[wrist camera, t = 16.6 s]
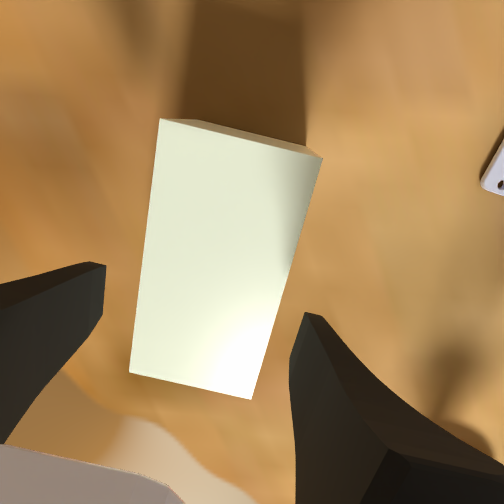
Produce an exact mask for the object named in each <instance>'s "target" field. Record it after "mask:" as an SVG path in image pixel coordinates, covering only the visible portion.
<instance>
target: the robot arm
mask: <svg viewBox="0 0 504 504" xmlns="http://www.w3.org/2000/svg"><path fill="white" fill-rule="evenodd" d="M502 180H503V185H502V187H501V188H498V187H497V186H498V183H499V182H500V181H502ZM481 187H482V188H483V189H485V190H487V191H490V192H493V193H496V194H499V195H502V196H504V139H503V141H502V143H501V145H500V146H499V148H498V150H497V152H496V154H495V155H494V157H493V159H492V161H491V162H490V164H489V166H488V168H487V170H486V171H485V173H484V175H483V177H482V179H481ZM105 278H106V265H103V264H98V263H94V262H90V261H89V262H83V263H79V264H75V265H71V266H67V267H64V268H60V269H57V270H53V271H50V272H46V273H43V274H39V275H35V276H32V277H27V278H23V279H19V280H15V281H11V282H7V283H3V284H0V504H185V503H184V502H183V500H181V498H179V496H178V495H177V494H176V493H175V492H174V491H173V490H172V489H171V488H170V487H169V486H168V485H167V484H164V483H162V482H159V481H157V480H154V479H152V478H150V477H147V476H145V475H142V474H139V473H134V472H130V471H125V470H121V469H116V468H112V467H107V466H102V465H97V464H93V463H89V462H84V461H80V460H75V459H70V458H66V457H61V456H56V455H52V454H48V453H43V452H38V451H34V450H29V449H25V448H20V447H15V446H11V445H6V444H4V443H5V441H6V440H7V438H8V437H9V435H10V434H11V432H12V431H13V429H14V428H15V427H16V425H17V424H18V422H19V421H20V419H21V418H22V416H23V415H24V414H25V412H26V411H27V410H28V408H29V407H30V405H31V404H32V403H33V401H34V400H35V398H36V397H37V396H38V395H39V393H40V392H41V391H42V389H43V388H44V387H45V386H46V385H47V384H48V383H49V381H50V380H51V379H52V378H53V377H54V376H55V375H56V373H57V372H58V371H59V370H60V369H61V368H62V367H63V365H64V364H65V363H66V362H67V361H68V360H69V359H70V357H71V356H72V355H73V354H74V353H75V352H76V351H77V349H78V348H79V347H80V346H81V345H82V344H83V342H84V341H85V340H86V339H87V338H88V336H89V335H90V333H91V332H92V330H93V329H94V327H95V326H96V324H97V323H98V321H99V319H100V318H101V316H102V315H103V303H104V290H105ZM289 391H290V401H291V411H292V420H293V430H294V439H295V454H296V501H295V504H504V466H503V464H501V463H500V462H498V461H496V460H494V459H493V458H491V457H489V456H487V455H486V454H484V453H482V452H480V451H479V450H477V449H475V448H473V447H472V446H470V445H468V444H466V443H465V442H463V441H461V440H460V439H458V438H456V437H455V436H453V435H452V434H450V433H449V432H447V431H445V430H444V429H442V428H441V427H439V426H438V425H436V424H435V423H433V422H432V421H430V420H429V419H428V418H426V417H425V416H423V415H422V414H420V413H419V412H418V411H417V410H415V409H414V408H413V407H411V406H410V405H409V404H407V403H406V402H405V401H403V400H402V399H401V398H400V397H398V396H397V395H396V394H395V393H394V392H392V391H391V390H390V389H389V388H388V387H387V386H386V385H385V384H383V383H382V382H381V381H380V380H379V379H378V378H377V377H376V376H375V375H374V374H373V373H372V372H371V371H370V370H369V369H368V368H367V367H366V366H365V365H364V364H363V363H362V362H361V361H360V360H359V359H358V358H357V357H356V356H355V355H354V353H353V352H352V351H351V350H350V349H349V348H348V347H347V345H346V344H345V343H344V342H343V341H342V339H341V338H340V337H339V336H338V335H337V333H336V332H335V331H334V330H333V328H332V327H331V326H330V325H329V324H328V322H327V321H326V320H325V319H324V318H323V317H322V316H320V315H316V314H312V313H308V312H305V313H304V316H303V319H302V322H301V325H300V328H299V331H298V334H297V337H296V340H295V343H294V346H293V349H292V352H291V355H290V361H289Z"/></svg>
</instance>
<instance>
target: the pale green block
mask: <svg viewBox="0 0 504 504" xmlns="http://www.w3.org/2000/svg"><path fill="white" fill-rule="evenodd" d="M322 160H323V158H321V157H320V156H319V155H317V154H316V153H315V152H313V151H312V150H310V149H309V148H308V147H306V146H303V145H299V144H295V143H291V142H287V141H283V140H279V139H275V138H271V137H266V136H262V135H258V134H254V133H250V132H246V131H242V130H238V129H234V128H230V127H226V126H222V125H218V124H214V123H210V122H206V121H202V120H196V119H163V118H160V122H159V130H158V138H157V147H156V155H155V163H154V171H153V179H152V188H151V196H150V204H149V212H148V220H147V228H146V237H145V245H144V253H143V261H142V269H141V278H140V286H139V294H138V302H137V310H136V319H135V327H134V335H133V343H132V351H131V360H130V368H129V372H131V373H135V374H140V375H144V376H149V377H153V378H158V379H162V380H167V381H171V382H175V383H180V384H184V385H189V386H193V387H198V388H202V389H207V390H211V391H216V392H220V393H225V394H229V395H234V396H238V397H242V398H247V399H251V397H252V394H253V391H254V387H255V384H256V381H257V377H258V374H259V371H260V367H261V364H262V361H263V357H264V354H265V351H266V347H267V344H268V341H269V337H270V334H271V331H272V327H273V324H274V320H275V317H276V314H277V310H278V307H279V304H280V300H281V297H282V294H283V290H284V287H285V284H286V280H287V277H288V274H289V270H290V267H291V264H292V260H293V257H294V253H295V250H296V247H297V243H298V240H299V237H300V233H301V230H302V227H303V223H304V220H305V217H306V213H307V210H308V207H309V203H310V200H311V197H312V193H313V190H314V186H315V183H316V180H317V176H318V173H319V170H320V166H321V163H322Z"/></svg>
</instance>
